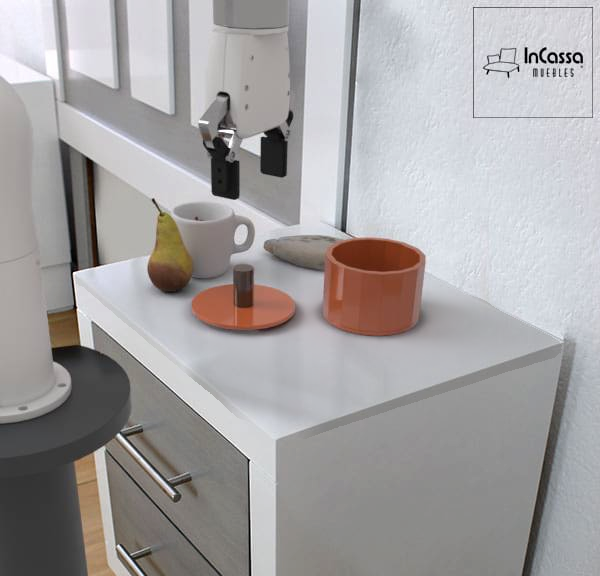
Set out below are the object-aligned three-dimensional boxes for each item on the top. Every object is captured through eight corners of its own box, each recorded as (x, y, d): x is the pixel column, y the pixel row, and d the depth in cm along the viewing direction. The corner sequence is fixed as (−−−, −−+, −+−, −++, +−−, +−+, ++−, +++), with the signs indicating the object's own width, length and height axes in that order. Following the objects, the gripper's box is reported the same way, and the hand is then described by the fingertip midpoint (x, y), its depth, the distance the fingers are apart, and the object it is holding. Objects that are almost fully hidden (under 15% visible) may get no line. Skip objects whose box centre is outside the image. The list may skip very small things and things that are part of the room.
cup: (244, 255, 122) (244, 197, 117) (263, 277, 116) (264, 216, 111) (166, 263, 118) (163, 203, 114) (182, 286, 112) (179, 224, 108)
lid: (260, 344, 100) (261, 297, 96) (170, 318, 104) (168, 272, 101) (313, 306, 109) (315, 262, 105) (228, 284, 113) (228, 241, 110)
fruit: (199, 295, 110) (197, 198, 104) (153, 300, 108) (147, 201, 102) (189, 278, 114) (185, 184, 108) (144, 282, 113) (138, 187, 106)
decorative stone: (270, 247, 125) (271, 223, 123) (379, 263, 121) (381, 239, 119) (255, 263, 120) (256, 238, 118) (368, 279, 116) (371, 254, 114)
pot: (394, 344, 101) (401, 281, 97) (305, 320, 105) (308, 259, 101) (433, 309, 109) (440, 250, 105) (349, 288, 114) (353, 231, 110)
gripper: (264, 1, 97) (262, 162, 106) (167, 18, 84) (175, 199, 93) (325, 8, 94) (318, 173, 103) (235, 27, 81) (235, 213, 90)
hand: (250, 185), depth 98 cm, fingers open, 9 cm apart
